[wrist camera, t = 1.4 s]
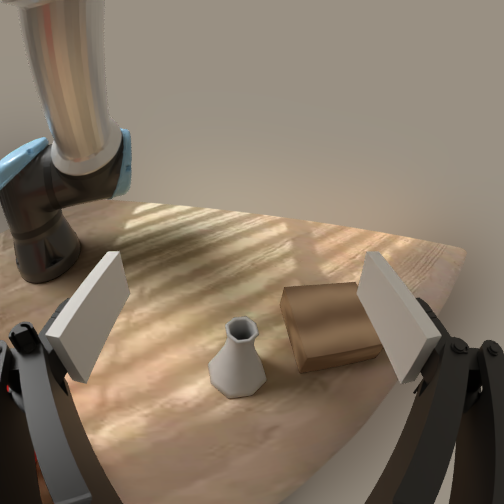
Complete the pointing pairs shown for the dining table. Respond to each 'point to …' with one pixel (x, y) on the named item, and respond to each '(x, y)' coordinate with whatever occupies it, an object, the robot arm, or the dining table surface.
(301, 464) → the dining table surface
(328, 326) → the plinth
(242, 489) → the dining table surface
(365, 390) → the dining table surface
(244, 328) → the flask
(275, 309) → the dining table surface
